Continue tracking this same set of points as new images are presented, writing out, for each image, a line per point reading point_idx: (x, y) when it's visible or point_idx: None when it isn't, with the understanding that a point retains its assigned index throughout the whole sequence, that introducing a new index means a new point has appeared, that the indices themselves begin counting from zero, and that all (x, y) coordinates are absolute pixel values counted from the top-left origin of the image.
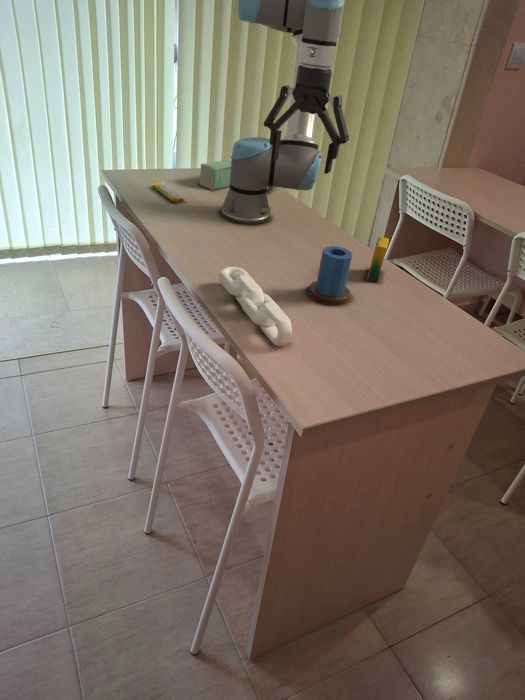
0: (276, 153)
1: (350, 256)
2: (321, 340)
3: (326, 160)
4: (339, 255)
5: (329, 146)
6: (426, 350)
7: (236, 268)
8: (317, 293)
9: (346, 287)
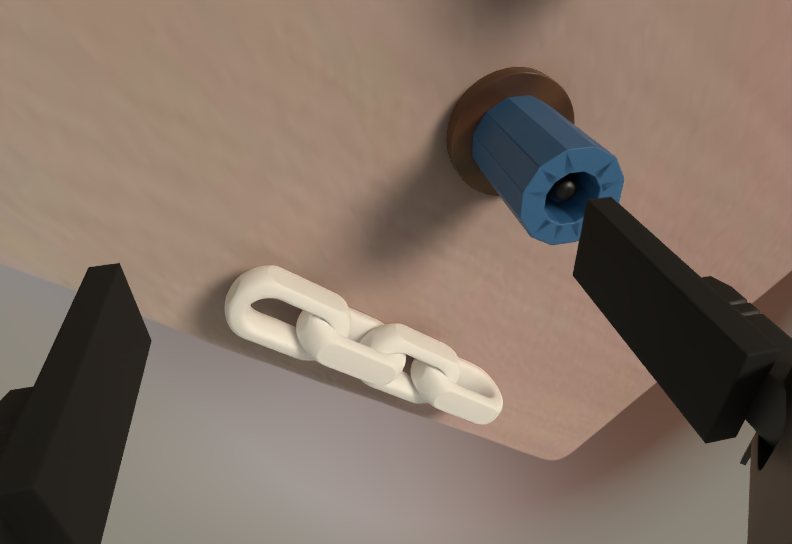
0: (125, 346)
1: (619, 197)
2: (538, 317)
3: (621, 335)
4: (575, 191)
5: (699, 425)
6: (751, 211)
7: (258, 298)
8: (487, 185)
9: (558, 87)
